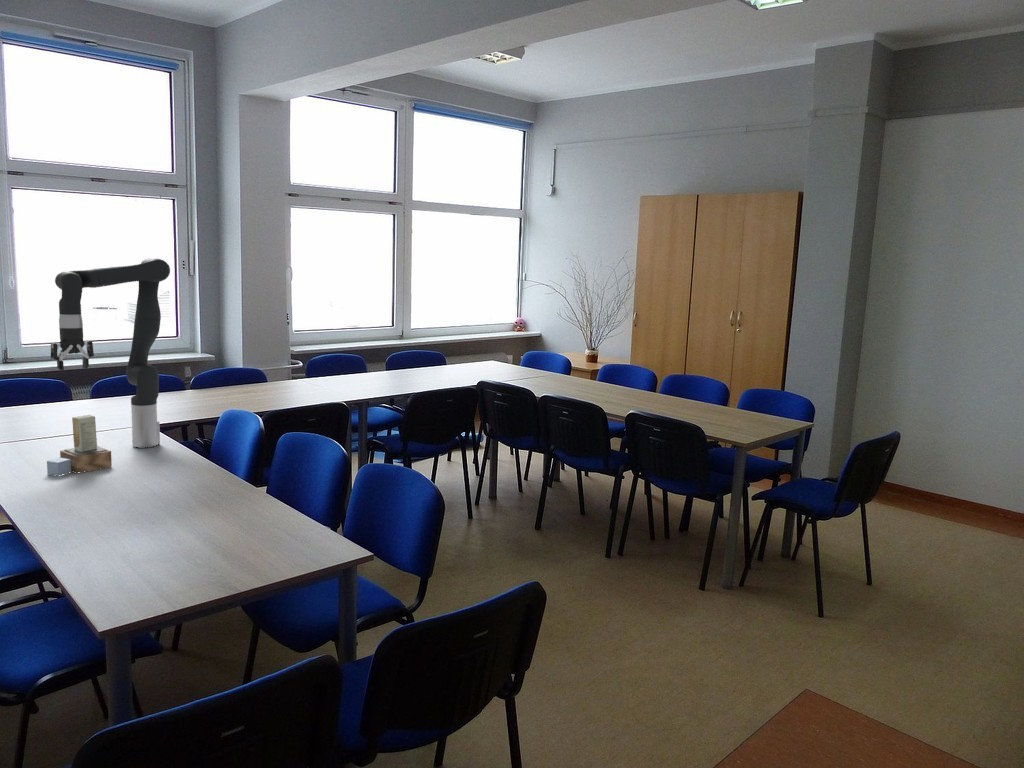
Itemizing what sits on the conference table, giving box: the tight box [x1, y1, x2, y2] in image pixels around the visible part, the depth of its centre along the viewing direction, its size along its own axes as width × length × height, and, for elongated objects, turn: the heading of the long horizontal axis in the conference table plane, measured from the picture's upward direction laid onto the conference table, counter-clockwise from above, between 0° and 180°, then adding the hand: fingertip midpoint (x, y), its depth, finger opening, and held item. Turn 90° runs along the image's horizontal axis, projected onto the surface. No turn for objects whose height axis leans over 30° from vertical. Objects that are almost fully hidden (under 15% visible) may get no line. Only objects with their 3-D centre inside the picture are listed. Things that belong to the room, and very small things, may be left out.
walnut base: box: [59, 445, 113, 474], centre depth 271 cm, size 12×12×6 cm
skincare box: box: [71, 414, 98, 452], centre depth 269 cm, size 6×4×12 cm
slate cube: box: [46, 457, 72, 477], centre depth 262 cm, size 5×5×5 cm
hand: (73, 369), depth 281 cm, fingers open, 8 cm apart
